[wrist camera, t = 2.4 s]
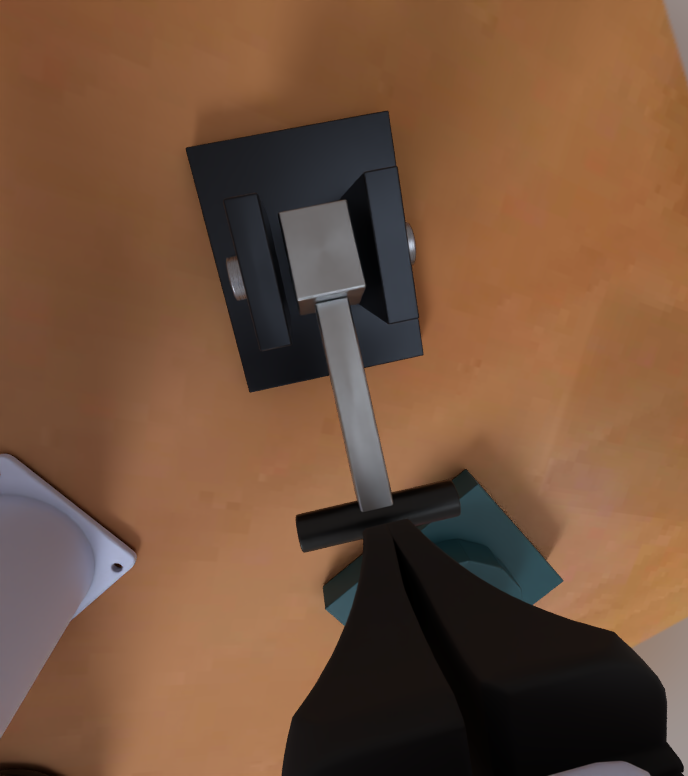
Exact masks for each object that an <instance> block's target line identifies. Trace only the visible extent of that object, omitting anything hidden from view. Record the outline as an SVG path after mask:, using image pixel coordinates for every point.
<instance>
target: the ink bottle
mask: <svg viewBox="0 0 688 776" xmlns="http://www.w3.org/2000/svg"><path fill="white" fill-rule="evenodd" d="M0 776H50V775H47V774H44V773H41V772H37V771H33V770H26V769H5V770H0Z"/></svg>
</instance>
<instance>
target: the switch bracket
mask: <svg viewBox="0 0 688 776" xmlns="http://www.w3.org/2000/svg"><path fill="white" fill-rule="evenodd" d="M186 152H187V156H188V160H189V164H190V168H191V171H192V175H193V179H194V183H195V187H196V190H197V194H198V198H199V202H200V206H201V209H202V213H203V217H204V221H205V225H206V228H207V232H208V236H209V240H210V244H211V248H212V251H213V255H214V259H215V263H216V267H217V270H218V274H219V278H220V282H221V286H222V289H223V293H224V297H225V301H226V305H227V308H228V312H229V316H230V320H231V324H232V328H233V331H234V335H235V339H236V343H237V347H238V350H239V354H240V358H241V362H242V366H243V369H244V373H245V377H246V381H247V385H248V388H249V392H255V391H260V390H264V389H269V388H274V387H278V386H283V385H288V384H292V383H297V382H301V381H306V380H311V379H315V378H320V377H325V376H329V371H328V366H327V362H326V357H325V353H324V348H323V344H322V339H321V334H320V330H319V325H318V321H317V316H316V313H311V314H306V315H300V314H299V310H298V306H297V302H296V297H295V292H294V288H293V283H292V279H291V274H290V270H289V265H288V260H287V256H286V251H285V247H284V242H283V237H282V233H281V228H280V224H279V219H278V213H280V212H284V211H289V210H294V209H299V208H304V207H309V206H314V205H320V204H325V203H330V202H335V201H340V200H347V201H348V203H349V208H350V212H351V217H352V221H353V226H354V230H355V235H356V239H357V244H358V249H359V253H360V258H361V262H362V267H363V271H364V276H365V280H366V288H365V291H364V294H363V296H362V299H361V301H360V303H359V304H355V305H350V307H351V311H352V316H353V320H354V325H355V329H356V334H357V338H358V343H359V347H360V352H361V356H362V361H363V366H364V368H366V367H371V366H375V365H380V364H385V363H389V362H394V361H399V360H403V359H408V358H412V357H417V356H422V355H423V347H422V340H421V333H420V326H419V319H418V318H419V313H418V306H417V299H416V292H415V285H414V278H413V271H412V265H413V264H414V263H415V259H416V245H415V238H414V234H413V231H412V228H411V226H410V224H409V223H408V222H405V216H404V209H403V202H402V195H401V188H400V181H399V174H398V167H397V166H396V160H395V153H394V146H393V139H392V133H391V126H390V119H389V112H388V111H382V112H377V113H372V114H366V115H361V116H355V117H350V118H344V119H339V120H333V121H328V122H323V123H317V124H312V125H306V126H301V127H295V128H290V129H284V130H279V131H274V132H268V133H263V134H257V135H252V136H246V137H241V138H235V139H230V140H225V141H219V142H214V143H208V144H203V145H197V146H192V147H187V148H186Z"/></svg>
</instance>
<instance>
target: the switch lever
mask: <svg viewBox="0 0 688 776" xmlns="http://www.w3.org/2000/svg"><path fill="white" fill-rule="evenodd" d="M278 219H279V224H280V228H281V233H282V237H283V242H284V247H285V251H286V256H287V260H288V265H289V270H290V274H291V279H292V283H293V288H294V292H295V297H296V302H297V306H298V310H299V314H300V315H306V314H311V313H316V316H317V321H318V325H319V330H320V334H321V339H322V344H323V348H324V353H325V357H326V362H327V366H328V371H329V375H330V380H331V385H332V389H333V394H334V398H335V403H336V407H337V412H338V417H339V421H340V426H341V430H342V435H343V439H344V444H345V449H346V453H347V458H348V462H349V467H350V471H351V476H352V481H353V485H354V490H355V494H356V499H357V501H353V502H349V503H345V504H340V505H336V506H332V507H328V508H323V509H319V510H315V511H310V512H306V513H302V514H298V515H296V527H297V533H298V538H299V543H300V546H301V549H302V551H303V552H304V553H305V552H309V551H314V550H318V549H322V548H326V547H330V546H335V545H339V544H343V543H347V542H351V541H356V540H360V539H363V535H362V532H363V531H364V530H365V528H369V527H373V526H378V525H382V524H386V523H390V522H395V521H399V520H403V519H408V520H410V521H411V522H412V523H413V524H414V525H415V526H419V525H423V524H427V523H431V522H436V521H440V520H444V519H448V518H452V517H457V516H459V515H460V514H461V504H460V499H459V496H458V493H457V490H456V487H455V485H454V484H453V482H452V481H451V480H449V479H448V480H444V481H439V482H435V483H431V484H426V485H422V486H418V487H413V488H409V489H405V490H401V491H396V492H391V488H390V483H389V479H388V474H387V470H386V465H385V461H384V456H383V452H382V447H381V443H380V438H379V434H378V429H377V424H376V420H375V415H374V411H373V406H372V402H371V397H370V393H369V388H368V384H367V379H366V375H365V370H364V366H363V361H362V356H361V352H360V347H359V343H358V338H357V334H356V329H355V325H354V320H353V316H352V311H351V307H350V305H355V304H359V303H360V301H361V299H362V296H363V294H364V291H365V288H366V280H365V276H364V271H363V267H362V262H361V258H360V253H359V249H358V244H357V239H356V235H355V230H354V226H353V221H352V217H351V212H350V208H349V203H348V201H347V200H340V201H335V202H330V203H325V204H320V205H314V206H309V207H304V208H299V209H294V210H289V211H284V212H280V213H278Z"/></svg>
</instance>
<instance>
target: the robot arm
mask: <svg viewBox="0 0 688 776" xmlns="http://www.w3.org/2000/svg"><path fill="white" fill-rule="evenodd" d="M0 474H1V475H0V738H1V737H2V735H3V733H4V732H5V730H6V728H7V727H8V725H9V723H10V722H11V720H12V718H13V717H14V715H15V713H16V712H17V710H18V708H19V707H20V705H21V703H22V701H23V700H24V698H25V696H26V695H27V693H28V691H29V690H30V688H31V686H32V685H33V683H34V681H35V680H36V678H37V676H38V675H39V673H40V671H41V670H42V668H43V666H44V665H45V663H46V661H47V659H48V658H49V656H50V654H51V653H52V651H53V649H54V648H55V646H56V644H57V643H58V641H59V639H60V638H61V636H62V634H63V633H64V631H65V629H66V628H67V626H68V624H69V623H70V621H71V620H72V619H73V618H74V617H76V616H77V615H78V614H79V613H80V612H81V611H82V610H84V609H85V608H86V607H87V606H88V605H89V604H91V603H92V602H93V601H94V600H95V599H96V598H97V597H99V596H100V595H101V594H102V593H103V592H104V591H105V590H107V589H108V588H109V587H110V586H111V585H112V584H113V583H115V582H116V581H117V580H118V579H119V578H120V577H121V576H123V575H124V574H125V573H126V572H127V571H128V570H129V569H131V568H132V567H133V565H134V564H135V562H136V560H137V555H136V553H135V552H134V551H133V550H132V549H131V548H129V547H128V546H127V545H126V544H124V543H123V542H122V541H120V540H119V539H118V538H117V537H115V536H114V535H113V534H112V533H110V532H109V531H108V530H106V529H105V528H104V527H103V526H101V525H100V524H99V523H98V522H96V521H95V520H94V519H92V518H91V517H90V516H89V515H87V514H86V513H85V512H84V511H82V510H81V509H80V508H78V507H77V506H76V505H75V504H73V503H72V502H71V501H70V500H68V499H67V498H66V497H65V496H63V495H62V494H61V493H59V492H58V491H57V490H56V489H54V488H53V487H52V486H51V485H49V484H48V483H47V482H45V481H44V480H43V479H42V478H40V477H39V476H38V475H37V474H35V473H34V472H33V471H31V470H30V469H29V468H28V467H26V466H25V465H24V464H23V463H21V462H20V461H19V460H17V459H16V458H15V457H14V456H12V455H10V454H0ZM362 535H363V558H362V564H361V571H360V577H359V581H358V585H357V589H356V593H355V597H354V601H353V604H352V607H351V610H350V613H349V616H348V619H347V622H346V624H345V627H344V629H343V632H342V634H341V636H340V639H339V641H338V643H337V646H336V648H335V650H334V652H333V654H332V656H331V658H330V660H329V661H328V663H327V665H326V667H325V668H324V670H323V672H322V674H321V675H320V677H319V679H318V681H317V682H316V684H315V686H314V687H313V689H312V690H311V692H310V693H309V695H308V696H307V697H306V699H305V700H304V702H303V703H302V705H301V706H300V707H299V709H298V710H297V712H296V713H295V714H294V716H293V717H292V721H291V725H290V729H289V734H288V738H287V743H286V748H285V754H284V760H283V768H282V776H684V775H683V774H682V773H681V772H683V771H684V766H683V764H682V762H681V760H680V759H679V757H678V756H677V755H676V753H675V752H674V751H673V750H672V748H671V747H670V746H669V744H668V743H667V742H666V736H667V699H666V693H665V688H664V687H663V685H662V683H661V681H660V680H659V678H658V676H657V675H656V674H655V673H654V672H653V671H652V670H651V669H650V667H649V666H648V665H647V664H646V663H645V662H644V661H643V659H641V658H640V656H638V655H637V653H636V652H635V651H634V650H633V649H632V648H631V647H629V646H628V645H627V644H626V643H625V642H624V641H623V640H622V639H621V638H620V637H619V636H618V635H617V634H616V633H615V632H612V631H609V630H605V629H602V628H598V627H594V626H591V625H587V624H584V623H580V622H577V621H573V620H570V619H567V618H564V617H562V616H559V615H556V614H553V613H551V612H548V611H545V610H543V609H540V608H538V607H535V606H533V605H531V604H528V603H526V602H524V601H522V600H520V599H518V598H516V597H513V596H511V595H509V594H507V593H505V592H503V591H501V590H499V589H498V588H496V587H494V586H492V585H491V584H489V583H487V582H486V581H484V580H482V579H481V578H479V577H478V576H476V575H475V574H473V573H472V572H470V571H469V570H467V569H466V568H465V567H463V566H462V565H460V564H459V563H458V562H456V561H455V560H454V559H452V558H451V557H450V556H449V555H447V554H446V553H445V552H444V551H443V550H441V549H440V548H439V547H438V546H436V545H435V544H434V543H433V542H432V541H431V540H430V539H429V538H427V537H426V536H425V535H424V534H423V533H422V532H421V531H420V530H419V529H418V528H417V527H416V526H415V525H414V524H413V523H412V522H411V521H410V520H408V519H403V520H399V521H395V522H390V523H386V524H382V525H378V526H373V527H369V528H365V530H364V531H363V532H362ZM115 563H119V564H121V565H122V567H117V566H115Z"/></svg>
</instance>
